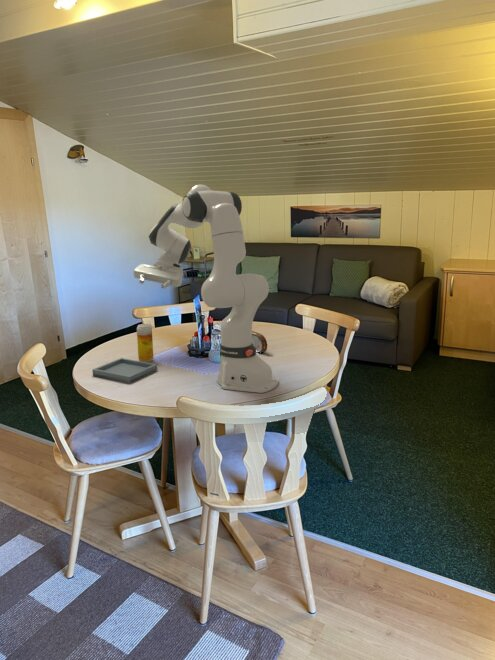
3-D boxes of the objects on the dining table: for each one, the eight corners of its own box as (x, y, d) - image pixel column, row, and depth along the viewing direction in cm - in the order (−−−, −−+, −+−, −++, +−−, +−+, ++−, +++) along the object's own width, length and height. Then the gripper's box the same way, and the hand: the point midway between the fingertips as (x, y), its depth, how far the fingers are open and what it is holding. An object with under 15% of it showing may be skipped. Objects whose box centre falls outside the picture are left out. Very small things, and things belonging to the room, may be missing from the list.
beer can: (150, 363, 197) (148, 327, 193) (136, 362, 198) (134, 326, 194) (155, 358, 203) (154, 324, 199) (142, 357, 204) (140, 323, 200)
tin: (267, 354, 208) (267, 335, 206) (261, 355, 207) (262, 336, 204) (248, 346, 220) (248, 328, 218) (242, 347, 219) (242, 329, 216)
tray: (157, 370, 188) (157, 364, 187) (129, 383, 174) (129, 377, 174) (121, 363, 196) (121, 357, 195) (92, 375, 182) (92, 369, 182)
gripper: (140, 257, 206) (127, 272, 195) (186, 267, 204) (176, 283, 193) (140, 270, 210) (127, 285, 199) (185, 280, 208) (175, 296, 197)
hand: (152, 284), depth 196 cm, fingers open, 8 cm apart
